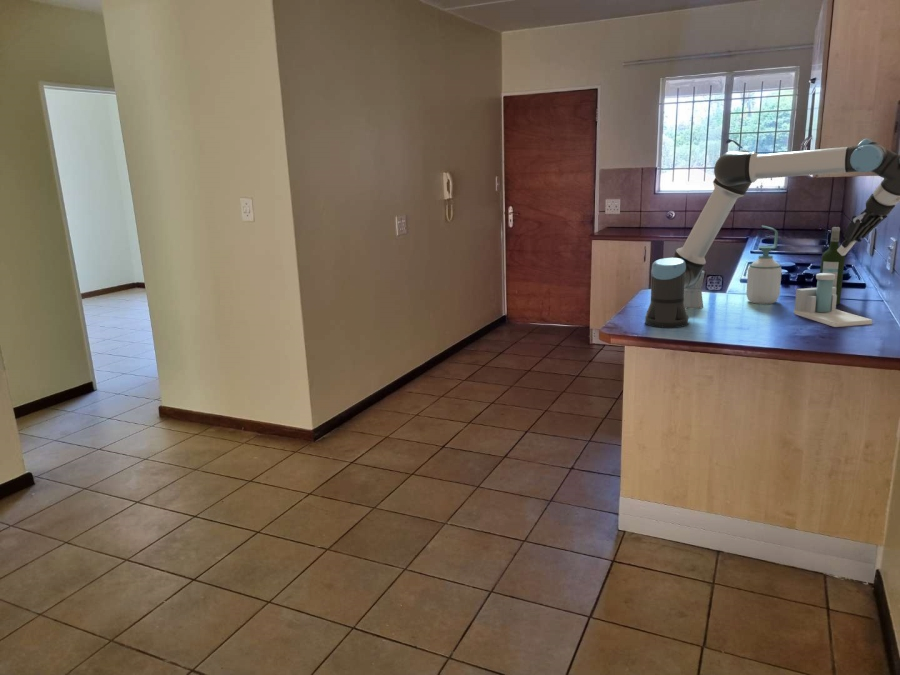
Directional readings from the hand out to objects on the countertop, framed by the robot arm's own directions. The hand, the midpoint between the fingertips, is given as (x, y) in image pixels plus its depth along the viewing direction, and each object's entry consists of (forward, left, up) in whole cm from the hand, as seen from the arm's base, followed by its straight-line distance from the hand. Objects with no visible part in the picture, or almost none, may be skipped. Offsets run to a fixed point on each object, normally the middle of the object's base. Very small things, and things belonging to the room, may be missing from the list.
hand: (840, 252), depth 222 cm
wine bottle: (+35, -3, -25) cm, 43 cm away
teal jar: (+11, +2, -23) cm, 26 cm away
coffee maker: (+21, +47, -25) cm, 58 cm away
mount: (+6, -1, -25) cm, 26 cm away
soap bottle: (+33, +21, -25) cm, 47 cm away
